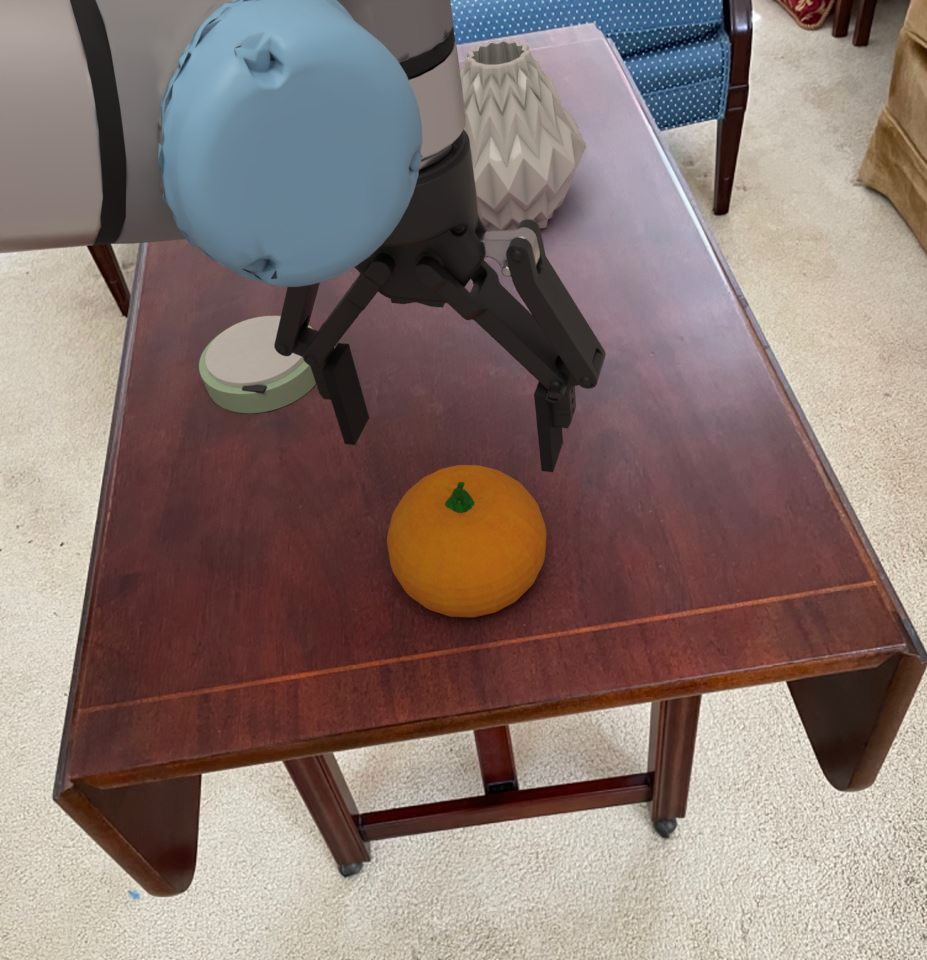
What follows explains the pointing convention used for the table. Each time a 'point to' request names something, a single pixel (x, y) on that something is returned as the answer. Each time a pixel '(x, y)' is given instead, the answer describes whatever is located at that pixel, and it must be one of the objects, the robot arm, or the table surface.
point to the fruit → (466, 541)
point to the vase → (517, 136)
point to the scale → (253, 369)
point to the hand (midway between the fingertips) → (451, 443)
